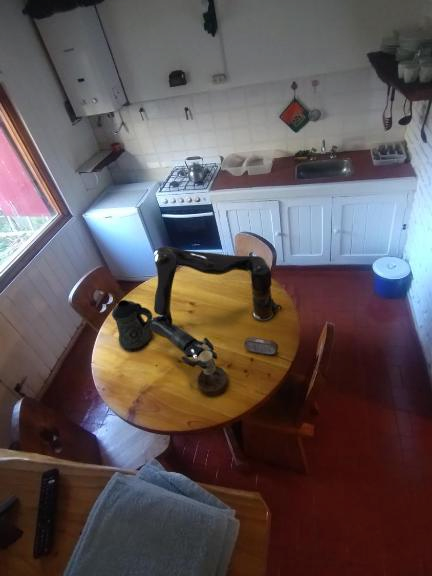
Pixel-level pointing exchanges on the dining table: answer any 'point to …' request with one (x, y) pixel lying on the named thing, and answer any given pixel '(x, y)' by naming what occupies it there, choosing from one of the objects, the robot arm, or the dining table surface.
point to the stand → (213, 382)
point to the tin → (261, 345)
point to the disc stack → (208, 362)
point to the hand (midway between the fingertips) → (211, 362)
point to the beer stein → (132, 325)
